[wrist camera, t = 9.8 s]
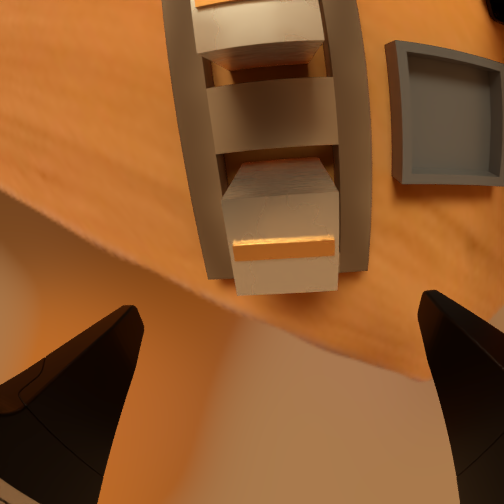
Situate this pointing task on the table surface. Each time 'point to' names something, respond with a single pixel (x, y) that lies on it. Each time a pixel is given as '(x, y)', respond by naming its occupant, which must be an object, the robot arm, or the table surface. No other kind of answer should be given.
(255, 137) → the grey flat frame
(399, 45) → the grey tray
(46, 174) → the table surface
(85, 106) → the table surface
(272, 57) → the block
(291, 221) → the block
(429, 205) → the table surface
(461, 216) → the table surface
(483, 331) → the robot arm
